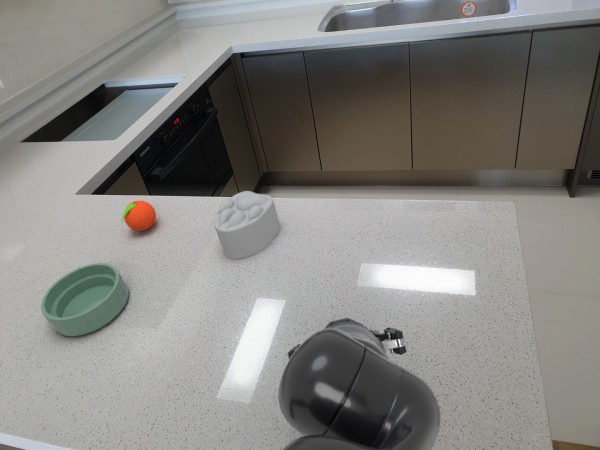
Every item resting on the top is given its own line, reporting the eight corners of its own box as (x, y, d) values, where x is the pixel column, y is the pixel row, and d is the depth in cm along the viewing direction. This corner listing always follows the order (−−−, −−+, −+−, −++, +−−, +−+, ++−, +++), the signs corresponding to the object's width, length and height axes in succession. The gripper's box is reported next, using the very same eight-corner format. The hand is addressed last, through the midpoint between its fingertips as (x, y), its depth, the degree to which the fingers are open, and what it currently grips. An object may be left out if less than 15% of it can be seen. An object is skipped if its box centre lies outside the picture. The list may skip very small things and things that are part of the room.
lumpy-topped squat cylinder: (286, 224, 97) (278, 190, 92) (250, 264, 89) (239, 229, 84) (248, 215, 102) (237, 182, 97) (211, 252, 94) (197, 219, 89)
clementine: (141, 243, 101) (128, 217, 97) (121, 236, 105) (107, 211, 101) (166, 221, 106) (155, 196, 102) (147, 216, 110) (135, 191, 105)
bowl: (80, 350, 79) (66, 331, 76) (41, 320, 87) (27, 302, 84) (144, 295, 87) (134, 276, 84) (103, 272, 95) (92, 254, 92)
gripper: (286, 412, 47) (298, 379, 63) (426, 386, 46) (402, 360, 63) (273, 337, 48) (288, 324, 64) (410, 312, 47) (390, 305, 64)
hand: (344, 342), depth 63 cm, fingers open, 6 cm apart
